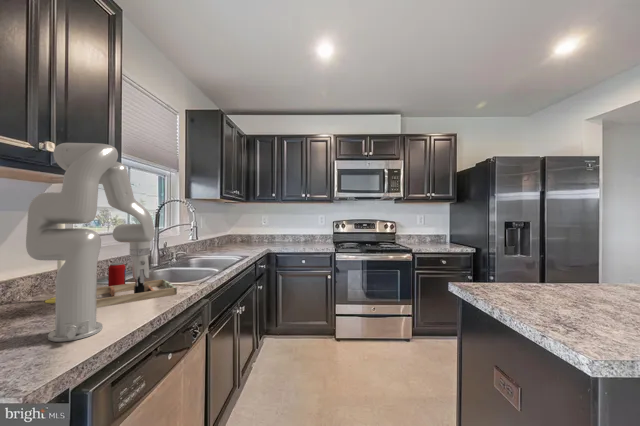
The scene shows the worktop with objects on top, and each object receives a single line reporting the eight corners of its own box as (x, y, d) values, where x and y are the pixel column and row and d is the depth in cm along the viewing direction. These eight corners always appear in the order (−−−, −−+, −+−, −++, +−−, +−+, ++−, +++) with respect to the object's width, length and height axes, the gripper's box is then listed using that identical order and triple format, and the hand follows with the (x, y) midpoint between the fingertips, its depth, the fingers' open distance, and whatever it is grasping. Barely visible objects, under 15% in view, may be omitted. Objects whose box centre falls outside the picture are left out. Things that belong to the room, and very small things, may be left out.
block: (148, 294, 130) (148, 285, 130) (135, 296, 126) (135, 287, 126) (146, 292, 134) (146, 283, 134) (133, 294, 130) (133, 285, 130)
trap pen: (176, 294, 130) (176, 287, 130) (91, 308, 111) (91, 300, 111) (164, 285, 147) (164, 279, 147) (88, 295, 127) (88, 288, 127)
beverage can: (128, 287, 143) (128, 262, 143) (117, 290, 136) (118, 264, 136) (116, 286, 143) (116, 262, 144) (104, 290, 137) (104, 264, 137)
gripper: (153, 253, 122) (153, 297, 122) (146, 250, 134) (146, 290, 134) (132, 255, 117) (132, 300, 117) (127, 251, 129) (126, 292, 129)
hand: (139, 294), depth 126 cm, fingers closed
